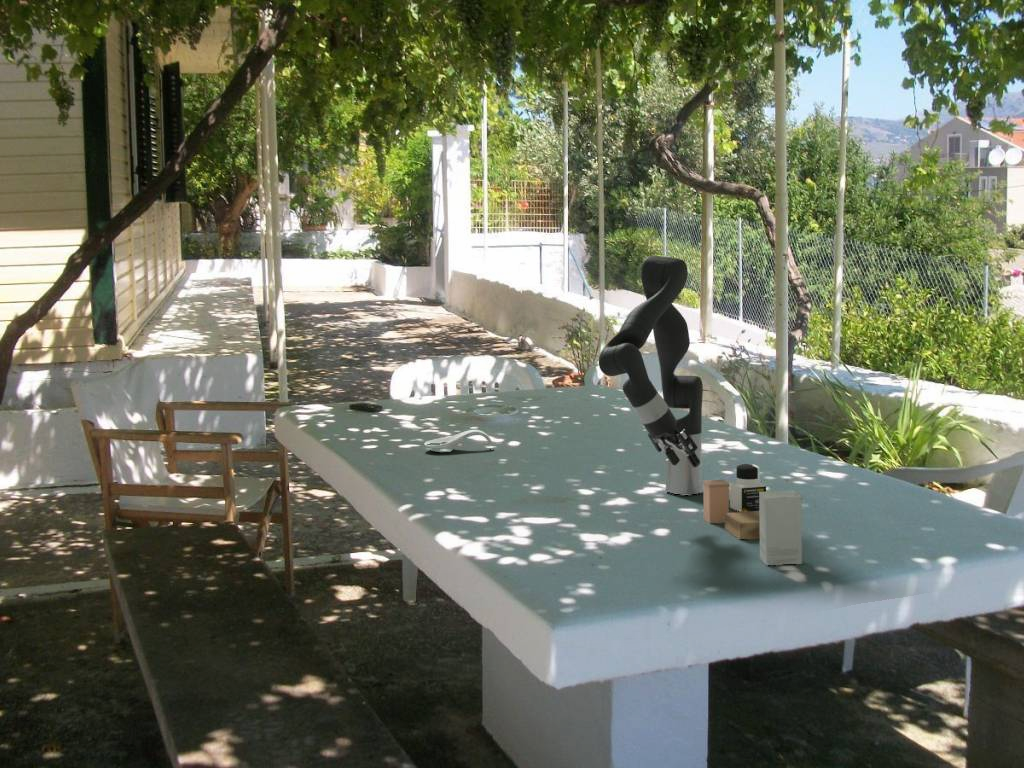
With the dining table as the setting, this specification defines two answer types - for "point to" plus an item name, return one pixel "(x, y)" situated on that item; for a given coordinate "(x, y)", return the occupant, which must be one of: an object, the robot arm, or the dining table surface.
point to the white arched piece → (456, 439)
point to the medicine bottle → (746, 489)
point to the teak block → (743, 524)
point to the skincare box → (780, 527)
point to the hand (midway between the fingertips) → (686, 464)
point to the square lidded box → (716, 500)
